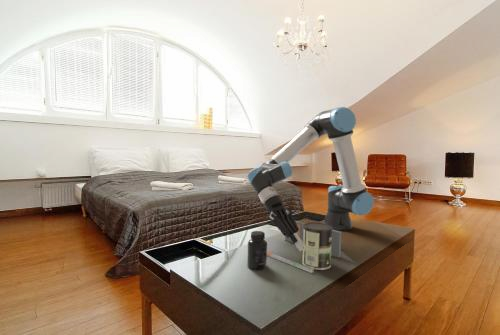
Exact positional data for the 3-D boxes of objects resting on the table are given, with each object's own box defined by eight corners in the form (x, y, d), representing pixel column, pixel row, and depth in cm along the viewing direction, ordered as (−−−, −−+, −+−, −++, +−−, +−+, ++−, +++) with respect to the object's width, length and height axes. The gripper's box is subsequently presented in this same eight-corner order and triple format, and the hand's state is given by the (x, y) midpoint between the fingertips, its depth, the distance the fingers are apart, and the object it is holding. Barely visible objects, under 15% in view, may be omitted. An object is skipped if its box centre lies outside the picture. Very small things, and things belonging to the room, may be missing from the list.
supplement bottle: (244, 263, 91) (245, 230, 91) (261, 261, 94) (262, 229, 94) (251, 272, 85) (252, 236, 85) (270, 269, 88) (271, 234, 87)
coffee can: (329, 259, 97) (331, 223, 96) (332, 271, 87) (334, 231, 86) (301, 256, 99) (303, 221, 98) (301, 268, 89) (303, 228, 88)
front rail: (257, 250, 105) (257, 247, 105) (313, 272, 86) (314, 269, 86) (255, 251, 104) (255, 248, 104) (311, 273, 85) (312, 270, 85)
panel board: (286, 240, 118) (287, 218, 118) (340, 257, 100) (341, 231, 99) (284, 240, 117) (285, 219, 117) (338, 258, 99) (339, 232, 98)
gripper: (265, 195, 102) (299, 248, 91) (285, 192, 111) (318, 240, 100) (255, 206, 106) (286, 258, 95) (275, 203, 115) (305, 250, 104)
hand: (302, 249), depth 97 cm, fingers closed
